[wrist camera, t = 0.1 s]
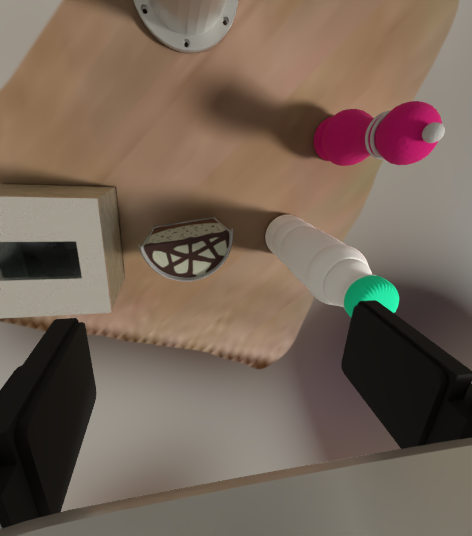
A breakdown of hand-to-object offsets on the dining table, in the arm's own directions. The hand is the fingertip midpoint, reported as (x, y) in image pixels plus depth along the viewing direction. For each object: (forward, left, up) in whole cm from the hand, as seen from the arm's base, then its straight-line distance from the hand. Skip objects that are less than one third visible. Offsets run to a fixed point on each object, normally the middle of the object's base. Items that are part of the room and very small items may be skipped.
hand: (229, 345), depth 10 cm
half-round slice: (+7, 0, -37) cm, 38 cm away
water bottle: (+6, +16, -37) cm, 41 cm away
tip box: (+6, -17, -37) cm, 41 cm away
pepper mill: (-9, +22, -37) cm, 44 cm away
